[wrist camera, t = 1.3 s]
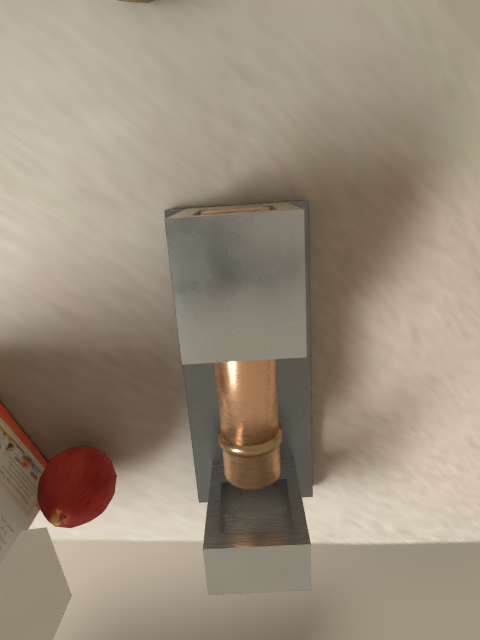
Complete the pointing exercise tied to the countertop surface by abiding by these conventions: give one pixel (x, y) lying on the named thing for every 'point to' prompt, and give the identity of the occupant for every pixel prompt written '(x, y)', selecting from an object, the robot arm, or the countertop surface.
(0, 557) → the cracker box
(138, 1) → the squeeze bottle
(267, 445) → the copper tube
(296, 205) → the jig
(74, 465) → the red round fruit
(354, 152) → the countertop surface
